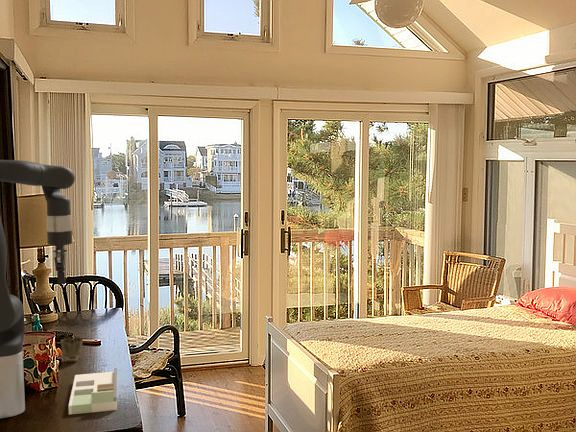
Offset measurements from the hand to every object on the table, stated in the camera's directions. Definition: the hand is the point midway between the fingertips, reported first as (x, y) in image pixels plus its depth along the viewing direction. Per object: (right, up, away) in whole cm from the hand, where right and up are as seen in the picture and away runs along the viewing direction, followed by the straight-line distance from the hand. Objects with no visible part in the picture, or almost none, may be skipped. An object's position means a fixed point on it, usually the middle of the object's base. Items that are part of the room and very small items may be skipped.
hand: (61, 283), depth 206 cm
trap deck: (+14, -33, -11) cm, 37 cm away
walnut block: (+20, -31, -19) cm, 41 cm away
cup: (-5, -31, +24) cm, 39 cm away
